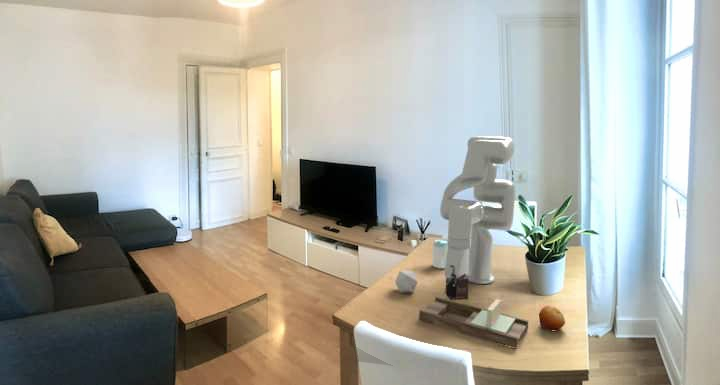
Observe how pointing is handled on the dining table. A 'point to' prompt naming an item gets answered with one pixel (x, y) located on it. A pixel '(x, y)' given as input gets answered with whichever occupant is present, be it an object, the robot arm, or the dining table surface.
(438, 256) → the can
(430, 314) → the brown wooden tray
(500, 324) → the lid
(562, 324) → the fruit
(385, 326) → the dining table surface
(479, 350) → the dining table surface
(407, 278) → the die
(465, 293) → the box
